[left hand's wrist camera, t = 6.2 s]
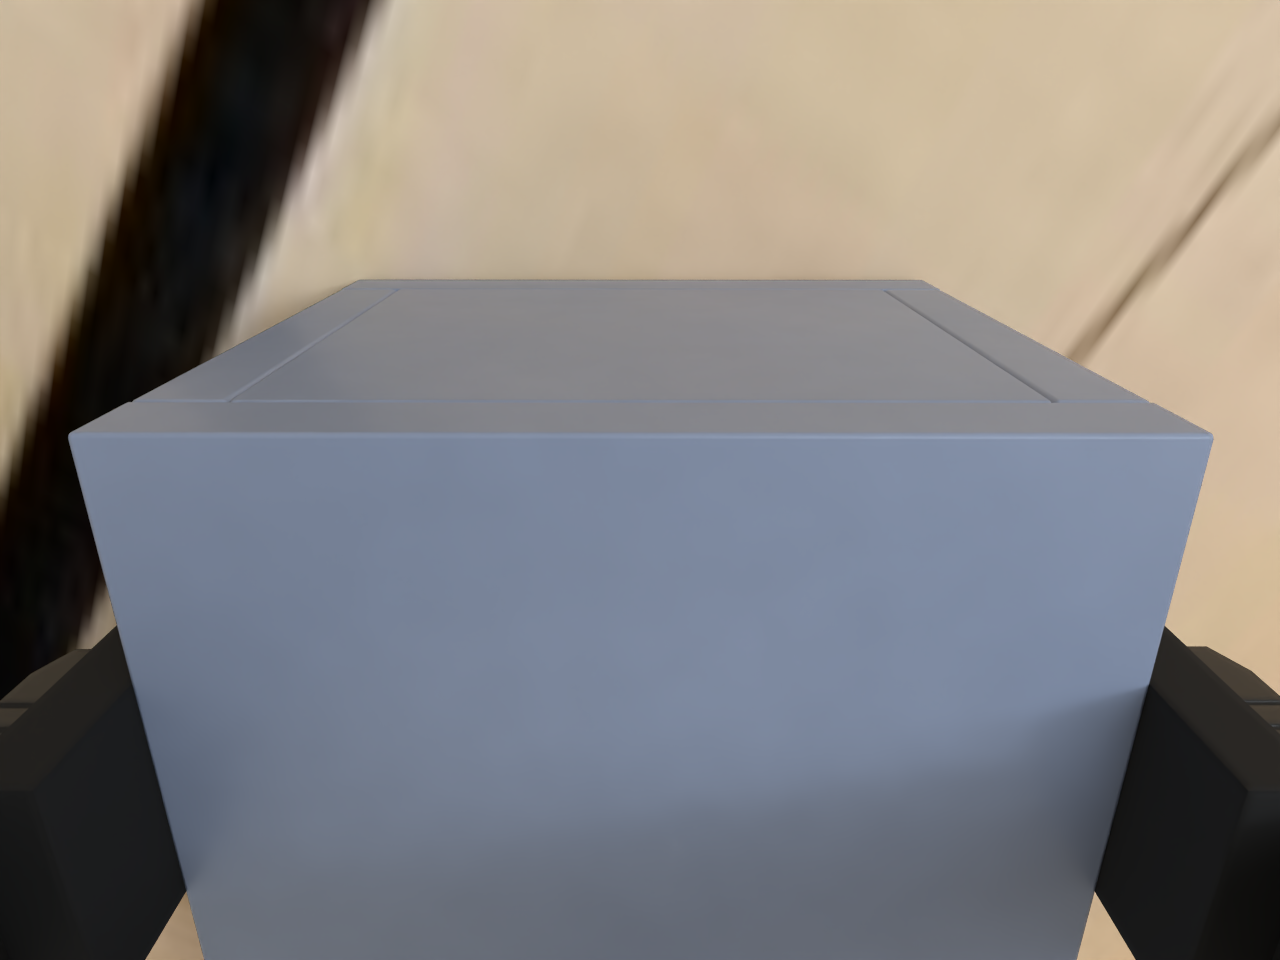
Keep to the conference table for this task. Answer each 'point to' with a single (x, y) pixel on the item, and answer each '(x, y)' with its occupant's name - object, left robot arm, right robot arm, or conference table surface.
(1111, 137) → the conference table surface
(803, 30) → the conference table surface
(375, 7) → the conference table surface
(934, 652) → the cabinet
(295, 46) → the conference table surface
